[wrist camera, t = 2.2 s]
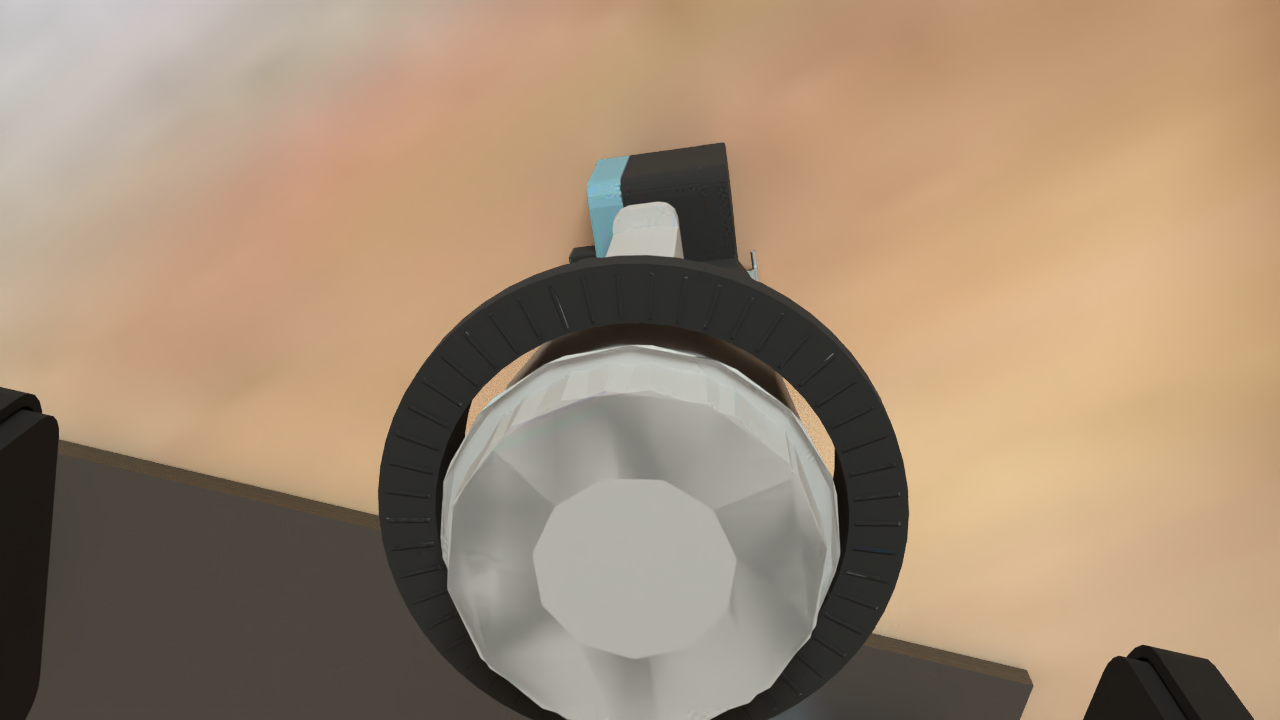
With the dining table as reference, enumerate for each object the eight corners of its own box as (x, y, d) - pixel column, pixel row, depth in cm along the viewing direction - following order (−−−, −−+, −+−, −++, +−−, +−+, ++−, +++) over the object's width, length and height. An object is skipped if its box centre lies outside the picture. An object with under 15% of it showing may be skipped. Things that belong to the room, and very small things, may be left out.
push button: (848, 480, 22) (953, 894, 12) (556, 512, 22) (439, 932, 13) (811, 106, 20) (902, 254, 10) (490, 151, 20) (291, 332, 11)
